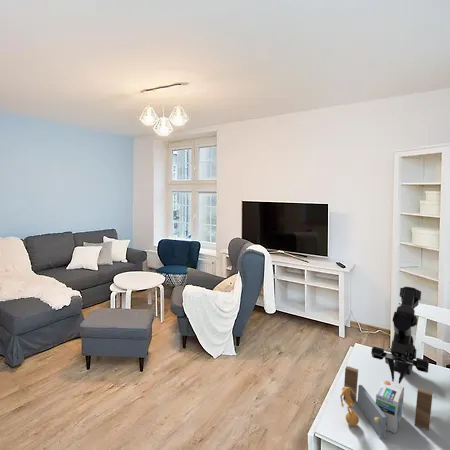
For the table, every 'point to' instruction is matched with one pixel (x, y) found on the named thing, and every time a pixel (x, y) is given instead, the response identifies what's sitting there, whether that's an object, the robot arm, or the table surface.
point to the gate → (372, 411)
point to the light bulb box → (390, 403)
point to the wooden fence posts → (421, 407)
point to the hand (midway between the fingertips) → (396, 382)
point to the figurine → (349, 406)
